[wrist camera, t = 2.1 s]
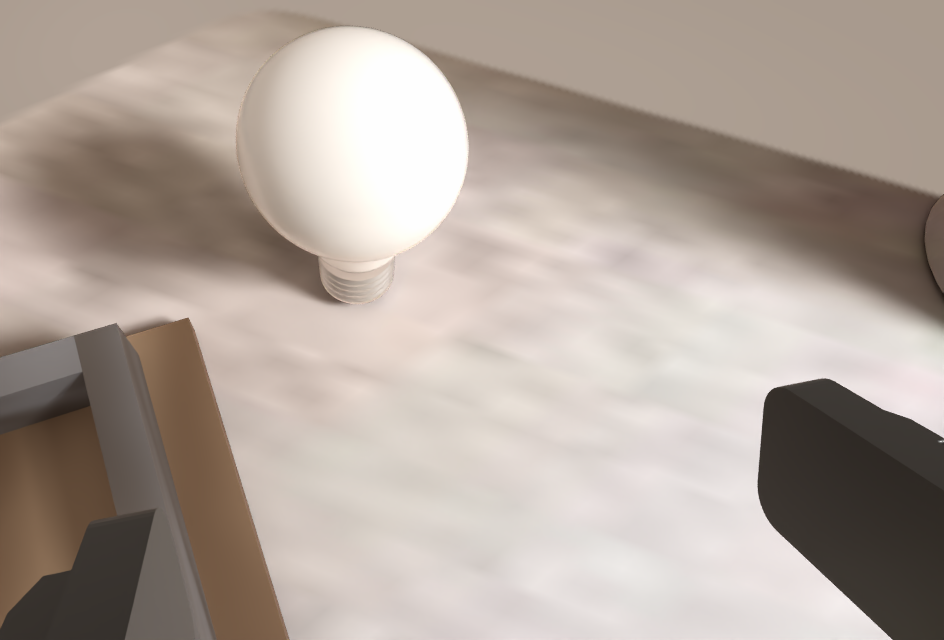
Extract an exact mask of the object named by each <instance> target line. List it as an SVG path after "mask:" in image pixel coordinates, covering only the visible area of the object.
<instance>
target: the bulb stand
mask: <svg viewBox="0 0 944 640" xmlns="http://www.w3.org/2000/svg"><path fill="white" fill-rule="evenodd" d="M154 508H161V509H162V510H163V512H164V513H165V515H166V518H167V521H168V524H169V528H170V532H171V535H172V539H173V543H174V547H175V551H176V555H177V559H178V563H179V566H180V570H181V574H182V578H183V582H184V586H185V590H186V594H187V597H188V601H189V605H190V609H191V613H192V619H193V625H194V633H195V640H289V637H288V633H287V630H286V627H285V624H284V620H283V617H282V614H281V611H280V607H279V604H278V601H277V598H276V594H275V591H274V588H273V584H272V581H271V578H270V575H269V571H268V568H267V565H266V562H265V558H264V555H263V552H262V549H261V545H260V542H259V539H258V536H257V532H256V529H255V526H254V523H253V519H252V516H251V513H250V510H249V506H248V503H247V500H246V497H245V493H244V490H243V487H242V484H241V480H240V477H239V474H238V471H237V467H236V464H235V461H234V457H233V454H232V451H231V448H230V444H229V441H228V438H227V435H226V431H225V428H224V425H223V422H222V418H221V415H220V412H219V409H218V405H217V402H216V399H215V396H214V392H213V389H212V386H211V383H210V379H209V376H208V373H207V370H206V366H205V363H204V360H203V357H202V353H201V350H200V347H199V343H198V340H197V337H196V334H195V330H194V328H193V326H192V324H191V322H190V320H189V318H185V319H182V320H179V321H175V322H172V323H169V324H165V325H162V326H159V327H155V328H152V329H149V330H145V331H142V332H139V333H135V334H132V335H129V336H125V335H124V333H123V332H122V331H121V329H120V328H119V326H118V325H117V323H115V324H112V325H108V326H105V327H102V328H98V329H95V330H91V331H88V332H85V333H81V334H78V335H74V336H71V337H68V338H64V339H61V340H58V341H54V342H51V343H47V344H44V345H41V346H37V347H34V348H30V349H27V350H24V351H20V352H17V353H13V354H10V355H7V356H3V357H0V628H1V626H2V624H3V622H4V620H5V617H6V615H7V613H8V612H9V611H10V610H11V609H12V608H13V607H14V606H15V605H16V604H17V603H18V602H19V601H20V600H21V598H22V597H23V596H24V595H25V594H26V593H27V592H28V591H29V590H30V589H31V588H32V587H33V586H34V585H35V584H36V583H37V582H38V581H39V580H40V579H41V578H42V577H43V576H46V575H50V574H55V573H60V572H65V571H70V570H71V569H72V567H73V564H74V561H75V558H76V556H77V553H78V550H79V548H80V545H81V542H82V539H83V537H84V534H85V531H86V529H87V526H88V524H89V523H90V522H91V521H93V520H98V519H103V518H108V517H114V516H119V515H124V514H129V513H134V512H139V511H144V510H149V509H154Z"/></svg>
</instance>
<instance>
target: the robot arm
mask: <svg viewBox="0 0 944 640" xmlns="http://www.w3.org/2000/svg"><path fill="white" fill-rule="evenodd" d="M925 247H926V252H927V258H928V262H929V265H930V267H931V270H932V272H933V275H934V277H935V280H936V282H937V284H938V285H939V287H940V289H941V290H942V292H943V293H944V194H943V195H942V196H941V197H940V198H939V200H938V201H937V202H936V203H935V205H934V206H933V207H932V209H931V211H930V214H929V217H928V219H927V222H926V229H925ZM758 494H759V499H760V503H761V506H762V509H763V511H764V513H765V515H766V517H767V519H768V520H769V522H770V523H771V525H772V526H773V527H774V528H775V529H776V530H777V531H778V532H779V533H780V534H781V535H782V536H783V537H784V538H785V539H786V540H787V541H788V542H789V543H790V544H791V545H793V546H794V547H795V548H796V549H797V550H798V551H799V552H800V553H801V554H802V555H803V556H804V557H805V558H806V559H807V560H808V561H810V562H811V563H812V564H813V565H814V566H815V567H816V568H817V569H818V570H819V571H820V572H821V573H822V574H823V575H824V576H825V577H827V578H828V579H829V580H830V581H831V582H832V583H833V584H834V585H835V586H836V587H837V588H838V589H839V590H840V591H841V592H843V593H844V594H845V595H846V596H847V597H848V598H849V599H850V600H851V601H852V602H853V603H854V604H855V605H856V606H857V607H858V608H860V609H861V610H862V611H863V612H864V613H865V614H866V615H867V616H868V617H869V618H870V619H871V620H872V621H873V622H874V623H876V624H877V625H878V626H879V627H880V628H881V629H882V630H883V631H884V632H885V633H886V634H887V635H888V636H889V637H890V638H891V639H893V640H944V438H943V437H941V436H939V435H937V434H936V433H934V432H932V431H930V430H929V429H927V428H925V427H923V426H922V425H920V424H918V423H916V422H915V421H913V420H911V419H909V418H906V417H903V416H900V415H897V414H894V413H891V412H888V411H885V410H883V409H881V408H879V407H877V406H876V405H874V404H872V403H871V402H869V401H867V400H865V399H864V398H862V397H860V396H859V395H857V394H855V393H853V392H852V391H850V390H848V389H847V388H845V387H843V386H841V385H840V384H838V383H836V382H835V381H832V380H830V379H826V378H825V379H817V380H812V381H807V382H802V383H797V384H791V385H786V386H781V387H777V388H774V389H772V390H771V391H770V392H769V393H768V395H767V397H766V399H765V402H764V410H763V423H762V435H761V447H760V460H759V472H758ZM0 640H195V633H194V625H193V619H192V613H191V609H190V605H189V601H188V597H187V594H186V590H185V586H184V582H183V578H182V574H181V570H180V566H179V563H178V559H177V555H176V551H175V547H174V543H173V539H172V535H171V532H170V528H169V524H168V521H167V518H166V515H165V513H164V512H163V510H162V509H161V508H154V509H149V510H144V511H139V512H134V513H129V514H124V515H119V516H114V517H108V518H103V519H98V520H93V521H91V522H90V523H89V524H88V526H87V529H86V531H85V534H84V537H83V539H82V542H81V545H80V548H79V550H78V553H77V556H76V558H75V561H74V564H73V567H72V569H71V570H70V571H65V572H60V573H55V574H50V575H46V576H43V577H42V578H41V579H40V580H39V581H38V582H37V583H36V584H35V585H34V586H33V587H32V588H31V589H30V590H29V591H28V592H27V593H26V594H25V595H24V596H23V597H22V598H21V600H20V601H19V602H18V603H17V604H16V605H15V606H14V607H13V608H12V609H11V610H10V611H9V612H8V613H7V615H6V617H5V620H4V622H3V624H2V626H1V628H0Z"/></svg>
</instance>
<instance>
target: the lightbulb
mask: <svg viewBox="0 0 944 640" xmlns="http://www.w3.org/2000/svg"><path fill="white" fill-rule="evenodd" d="M236 154H237V161H238V166H239V170H240V173H241V177H242V180H243V183H244V185H245V188H246V190H247V192H248V194H249V196H250V198H251V200H252V202H253V203H254V205H255V206H256V208H257V209H258V211H259V212H260V214H261V215H262V216H263V217H264V219H265V220H266V221H267V222H268V223H269V224H270V225H271V226H272V227H273V228H274V229H275V230H276V231H277V232H278V233H279V234H280V235H282V236H283V237H284V238H285V239H287V240H288V241H290V242H291V243H293V244H294V245H296V246H298V247H299V248H301V249H303V250H305V251H307V252H309V253H312V254H314V255H317V256H318V263H319V271H320V278H321V282H322V284H323V286H324V288H325V289H326V290H327V292H328V293H329V294H330V295H332V296H333V297H334V298H336V299H338V300H340V301H342V302H345V303H349V304H365V303H369V302H372V301H374V300H376V299H378V298H380V297H381V296H382V295H383V294H384V293H385V292H386V291H387V290H388V289H389V287H390V285H391V283H392V280H393V276H394V263H395V255H398V254H400V253H402V252H405V251H407V250H409V249H410V248H412V247H414V246H415V245H417V244H419V243H420V242H421V241H423V240H424V239H425V238H427V237H428V236H429V235H430V234H431V233H432V232H433V231H434V230H435V229H436V228H437V227H438V226H439V225H440V224H441V223H442V222H443V221H444V219H445V218H446V217H447V215H448V214H449V212H450V211H451V209H452V207H453V206H454V204H455V202H456V200H457V198H458V196H459V193H460V191H461V188H462V186H463V182H464V179H465V175H466V170H467V165H468V154H469V143H468V132H467V126H466V121H465V117H464V114H463V111H462V108H461V105H460V102H459V100H458V98H457V96H456V93H455V91H454V90H453V88H452V86H451V84H450V83H449V81H448V80H447V78H446V77H445V75H444V74H443V73H442V71H441V70H440V69H439V68H438V67H437V66H436V64H435V63H434V62H433V61H432V60H431V59H430V58H428V57H427V56H426V55H425V54H424V53H423V52H421V51H420V50H419V49H417V48H416V47H415V46H413V45H412V44H410V43H408V42H406V41H405V40H403V39H401V38H399V37H397V36H395V35H392V34H390V33H387V32H384V31H381V30H377V29H373V28H368V27H361V26H335V27H328V28H323V29H319V30H316V31H312V32H309V33H307V34H304V35H302V36H300V37H298V38H296V39H294V40H292V41H290V42H289V43H287V44H286V45H284V46H283V47H281V48H280V49H279V50H277V51H276V52H275V53H274V54H273V55H272V56H271V57H270V58H269V59H268V60H267V61H266V62H265V63H264V64H263V65H262V66H261V68H260V69H259V70H258V72H257V73H256V74H255V76H254V77H253V79H252V81H251V82H250V84H249V86H248V88H247V90H246V92H245V95H244V97H243V100H242V103H241V106H240V109H239V113H238V118H237V125H236Z"/></svg>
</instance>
